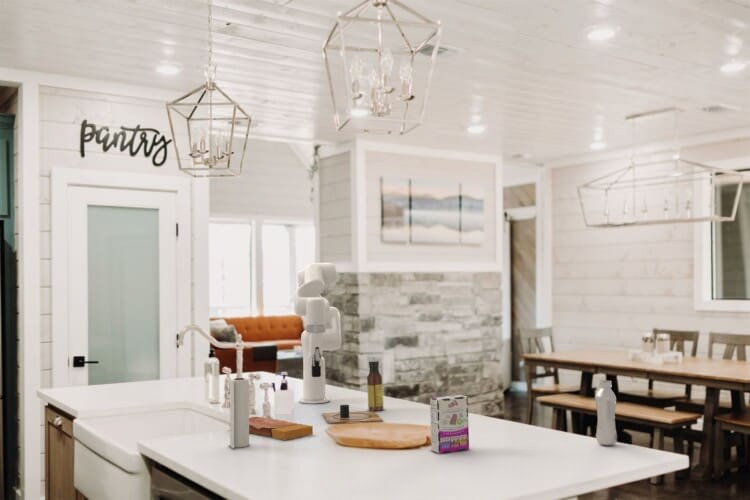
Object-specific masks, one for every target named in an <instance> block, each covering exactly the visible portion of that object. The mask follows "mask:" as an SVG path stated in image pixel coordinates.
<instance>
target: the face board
mask: <svg viewBox="0 0 750 500" xmlns="http://www.w3.org/2000/svg"><path fill="white" fill-rule="evenodd" d="M322 415H323V417H324V419H325V420H326V422H327V424H329V425H334V424H335V425H337V424H339V423H340V424H347V423H346V422H362V423H379V422H381V423H383V422H384V420H383V419H382V418H381V417H380V416H379V414H377V413H376V411H371V410H363V411H360V410H359V411H349V418H340V411H337V412H323V413H322Z"/></svg>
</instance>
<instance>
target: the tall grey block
mask: <svg viewBox="0 0 750 500" xmlns="http://www.w3.org/2000/svg"><path fill="white" fill-rule="evenodd" d="M249 418H250V379H249V378H246V377H236V378H231V379H229V446H230V448H233V449H235V448H246V447H249V446H250V433H249Z"/></svg>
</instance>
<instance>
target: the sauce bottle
mask: <svg viewBox="0 0 750 500" xmlns="http://www.w3.org/2000/svg"><path fill="white" fill-rule="evenodd" d="M379 364H380V362H379V360H369V361H368V367H369V373H368V375H367V377H366V382H367V384H366V387H367V405H368V411H373V412H376V411H377V412H380V411H383V410H384V387H383V386H384V385H383V377H382V375H381V373H380V369H379V368H380V367H379Z"/></svg>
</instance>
